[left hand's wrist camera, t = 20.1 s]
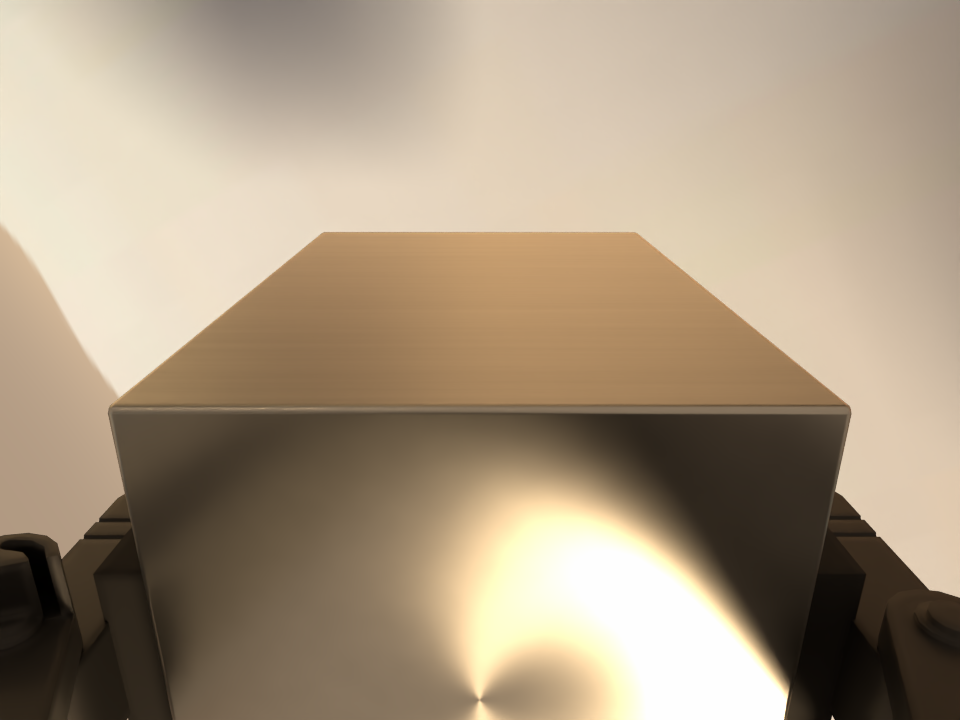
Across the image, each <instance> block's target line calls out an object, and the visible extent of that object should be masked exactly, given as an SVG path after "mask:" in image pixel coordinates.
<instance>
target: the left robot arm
mask: <svg viewBox="0 0 960 720" xmlns="http://www.w3.org/2000/svg"><path fill="white" fill-rule="evenodd" d="M832 716H833V717H834V719H835V720H960V598H959V597H956V596H952V595H949V594H946V593H942V592H939V591H930V590H929V589H928V588H927V587H926V586H925V585H924V584H923V583H922V582H921V581H920V580H919V579H918V577H917V576H916V575H915V574H914V573H913V572H912V571H911V570H910V569H909V568H908V567H907V566H906V564H905V563H904V562H903V561H902V560H901V559H900V558H899V557H898V556H897V555H896V554H895V553H894V552H893V550H892V549H891V548H890V547H889V546H888V545H887V544H886V543H885V542H884V541H883V540H882V539H881V537H876V532H875V531H874V530H873V529H872V528H871V527H870V526H869V524H868V523H867V522H866V521H865V520H861V516H860V515H859V514H858V513H857V511H856V510H855V509H854V508H853V507H852V506H851V505H850V504H849V503H848V502H847V501H846V500H845V498H844V497H843V496H841V495H840V494H838V493H836V492H835V493H834V498H833V503H832V507H831V512H830V517H829V521H828V526H827V531H826V535H825V540H824V545H823V550H822V554H821V559H820V564H819V568H818V573H817V578H816V582H815V587H814V592H813V597H812V601H811V606H810V611H809V615H808V620H807V625H806V629H805V634H804V639H803V644H802V648H801V653H800V658H799V662H798V667H797V672H796V677H795V681H794V686H793V691H792V695H791V700H790V705H789V709H788V714H787V719H786V720H831V718H832ZM127 718H128V720H173V718H172V714H171V709H170V704H169V699H168V695H167V690H166V685H165V680H164V676H163V671H162V666H161V662H160V657H159V652H158V647H157V643H156V638H155V633H154V628H153V624H152V619H151V614H150V610H149V605H148V600H147V595H146V591H145V586H144V581H143V576H142V572H141V567H140V562H139V557H138V553H137V548H136V543H135V539H134V534H133V529H132V524H131V520H130V515H129V510H128V505H127V501H126V496H125V494H124V495H122V496H121V497H119V498H118V499H117V500H116V501H115V502H114V503H113V504H112V505H111V506H110V507H109V508H108V510H107V511H106V512H105V513H104V514H103V515H102V516H101V517H100V518H99V522H96V523H95V524H94V525H93V526H92V527H91V528H90V529H89V530H88V531H87V532H86V533H85V535H84V539H80V540H79V541H78V542H77V543H76V544H75V545H74V547H73V548H72V549H71V550H70V551H69V552H68V553H67V554H66V555H65V556H64V557H63V559H61V556H60V552H59V548H58V544H57V543H56V542H55V541H53V540H52V539H51V538H49V537H48V536H45V535H38V534H32V533H23V534H12V535H3V536H0V720H127Z"/></svg>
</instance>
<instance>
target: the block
mask: <svg viewBox="0 0 960 720" xmlns="http://www.w3.org/2000/svg"><path fill="white" fill-rule="evenodd" d="M108 416H109V420H110V425H111V430H112V435H113V439H114V444H115V449H116V453H117V458H118V463H119V468H120V472H121V477H122V482H123V486H124V491H125V496H126V501H127V505H128V510H129V515H130V520H131V524H132V529H133V534H134V539H135V543H136V548H137V553H138V557H139V562H140V567H141V572H142V576H143V581H144V586H145V591H146V595H147V600H148V605H149V610H150V614H151V619H152V624H153V628H154V633H155V638H156V643H157V647H158V652H159V657H160V662H161V666H162V671H163V676H164V680H165V685H166V690H167V695H168V699H169V704H170V709H171V714H172V718H173V720H786V719H787V714H788V709H789V705H790V700H791V695H792V691H793V686H794V681H795V677H796V672H797V667H798V662H799V658H800V653H801V648H802V644H803V639H804V634H805V629H806V625H807V620H808V615H809V611H810V606H811V601H812V597H813V592H814V587H815V582H816V578H817V573H818V568H819V564H820V559H821V554H822V550H823V545H824V540H825V535H826V531H827V526H828V521H829V517H830V512H831V507H832V503H833V498H834V493H835V488H836V484H837V479H838V474H839V470H840V465H841V460H842V456H843V451H844V446H845V441H846V437H847V432H848V427H849V423H850V418H851V409H850V406H849V405H848V404H846V403H845V402H844V401H843V400H841V399H840V398H839V397H838V396H837V395H835V394H834V393H833V392H832V391H830V390H829V389H828V388H827V387H825V386H824V385H823V384H822V383H821V382H819V381H818V380H817V379H816V378H814V377H813V376H812V375H811V374H810V373H808V372H807V371H806V370H805V369H803V368H802V367H801V366H800V365H798V364H797V363H796V362H795V361H794V360H792V359H791V358H790V357H789V356H787V355H786V354H785V353H784V352H782V351H781V350H780V349H779V348H778V347H776V346H775V345H774V344H773V343H771V342H770V341H769V340H768V339H767V338H765V337H764V336H763V335H762V334H760V333H759V332H758V331H757V330H755V329H754V328H753V327H752V326H751V325H749V324H748V323H747V322H746V321H744V320H743V319H742V318H741V317H739V316H738V315H737V314H736V313H735V312H733V311H732V310H731V309H730V308H728V307H727V306H726V305H725V304H723V303H722V302H721V301H720V300H719V299H717V298H716V297H715V296H714V295H712V294H711V293H710V292H709V291H708V290H706V289H705V288H704V287H703V286H701V285H700V284H699V283H698V282H696V281H695V280H694V279H693V278H692V277H690V276H689V275H688V274H687V273H685V272H684V271H683V270H682V269H680V268H679V267H678V266H677V265H676V264H674V263H673V262H672V261H671V260H669V259H668V258H667V257H666V256H665V255H663V254H662V253H661V252H660V251H658V250H657V249H656V248H655V247H653V246H652V245H651V244H650V243H649V242H647V241H646V240H645V239H644V238H642V237H641V236H640V235H639V234H637V233H635V232H324V233H322V234H320V235H319V236H318V237H317V238H315V239H314V240H313V241H312V242H311V243H309V244H308V245H307V246H306V247H304V248H303V249H302V250H301V251H300V252H298V253H297V254H296V255H295V256H293V257H292V258H291V259H290V260H288V261H287V262H286V263H285V264H284V265H282V266H281V267H280V268H279V269H277V270H276V271H275V272H274V273H272V274H271V275H270V276H269V277H268V278H266V279H265V280H264V281H263V282H261V283H260V284H259V285H258V286H257V287H255V288H254V289H253V290H252V291H250V292H249V293H248V294H247V295H245V296H244V297H243V298H242V299H241V300H239V301H238V302H237V303H236V304H234V305H233V306H232V307H231V308H229V309H228V310H227V311H226V312H225V313H223V314H222V315H221V316H220V317H218V318H217V319H216V320H215V321H213V322H212V323H211V324H210V325H209V326H207V327H206V328H205V329H204V330H202V331H201V332H200V333H199V334H198V335H196V336H195V337H194V338H193V339H191V340H190V341H189V342H188V343H186V344H185V345H184V346H183V347H182V348H180V349H179V350H178V351H177V352H175V353H174V354H173V355H172V356H170V357H169V358H168V359H167V360H166V361H164V362H163V363H162V364H161V365H159V366H158V367H157V368H156V369H154V370H153V371H152V372H151V373H150V374H148V375H147V376H146V377H145V378H143V379H142V380H141V381H140V382H139V383H137V384H136V385H135V386H134V387H132V388H131V389H130V390H129V391H127V392H126V393H125V394H124V395H123V396H121V397H120V398H119V399H118V400H116V401H115V402H114V403H113V404H111V405H110V407H109V411H108Z"/></svg>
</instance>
